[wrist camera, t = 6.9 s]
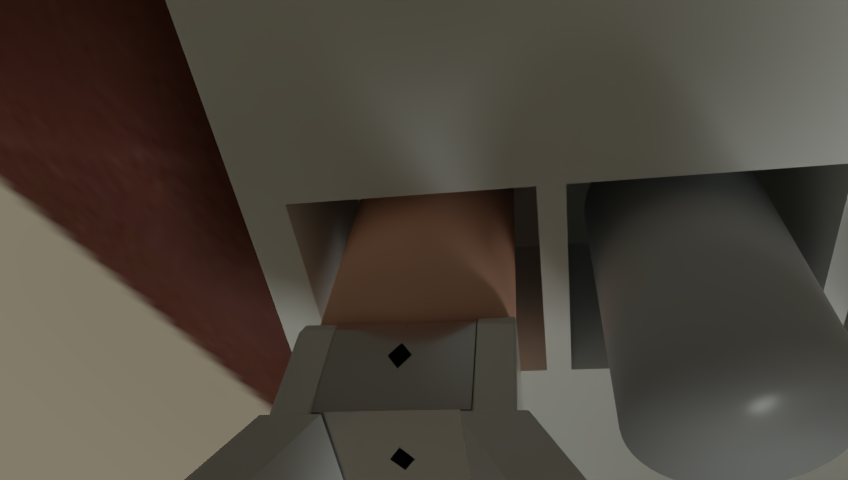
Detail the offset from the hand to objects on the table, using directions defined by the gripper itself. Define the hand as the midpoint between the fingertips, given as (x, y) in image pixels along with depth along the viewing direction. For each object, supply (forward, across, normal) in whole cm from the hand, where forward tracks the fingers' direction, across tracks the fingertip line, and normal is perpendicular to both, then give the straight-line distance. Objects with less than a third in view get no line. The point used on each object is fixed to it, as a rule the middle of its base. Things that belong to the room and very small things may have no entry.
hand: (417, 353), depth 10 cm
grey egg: (+3, -4, 0) cm, 5 cm away
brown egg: (+4, 0, 0) cm, 5 cm away
